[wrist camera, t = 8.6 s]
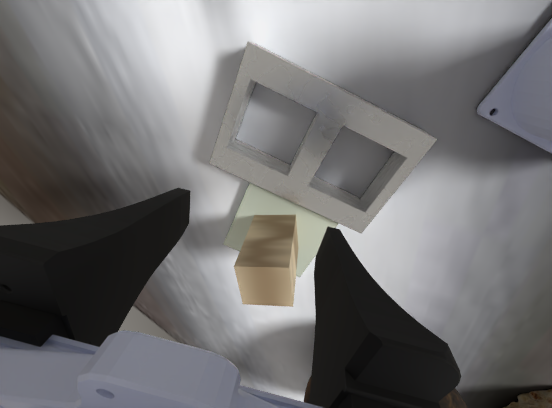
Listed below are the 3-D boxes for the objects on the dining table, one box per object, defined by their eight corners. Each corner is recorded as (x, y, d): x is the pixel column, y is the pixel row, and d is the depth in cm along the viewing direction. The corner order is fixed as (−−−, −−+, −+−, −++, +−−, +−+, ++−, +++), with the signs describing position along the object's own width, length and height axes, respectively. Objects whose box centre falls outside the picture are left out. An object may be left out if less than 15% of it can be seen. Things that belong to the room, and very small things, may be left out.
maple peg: (296, 214, 24) (289, 267, 18) (298, 248, 25) (292, 306, 19) (254, 215, 24) (233, 266, 18) (259, 247, 26) (243, 304, 20)
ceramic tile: (337, 219, 24) (338, 223, 23) (300, 271, 28) (299, 277, 27) (251, 179, 23) (249, 183, 23) (225, 239, 27) (223, 244, 27)
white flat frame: (423, 130, 19) (437, 139, 17) (357, 217, 24) (361, 233, 22) (256, 43, 18) (247, 41, 16) (219, 153, 22) (209, 163, 20)
